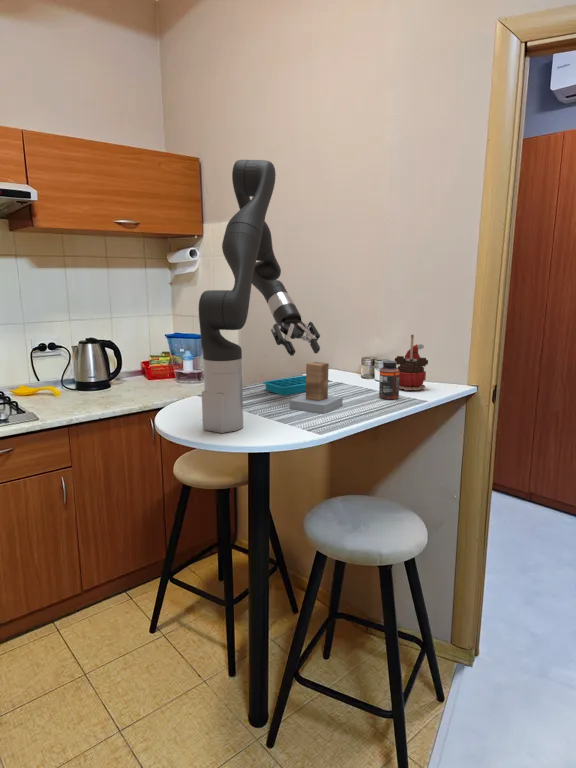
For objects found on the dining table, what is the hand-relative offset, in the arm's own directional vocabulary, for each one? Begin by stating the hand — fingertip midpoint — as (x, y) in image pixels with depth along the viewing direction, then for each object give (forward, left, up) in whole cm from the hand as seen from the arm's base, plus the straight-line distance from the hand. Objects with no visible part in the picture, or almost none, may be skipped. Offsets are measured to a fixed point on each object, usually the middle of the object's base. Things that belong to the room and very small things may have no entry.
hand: (305, 352), depth 149 cm
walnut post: (-2, -5, -12) cm, 14 cm away
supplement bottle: (+20, -18, -15) cm, 31 cm away
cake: (+36, -19, -15) cm, 43 cm away
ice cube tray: (+16, +13, -15) cm, 26 cm away
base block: (-2, -5, -16) cm, 17 cm away
